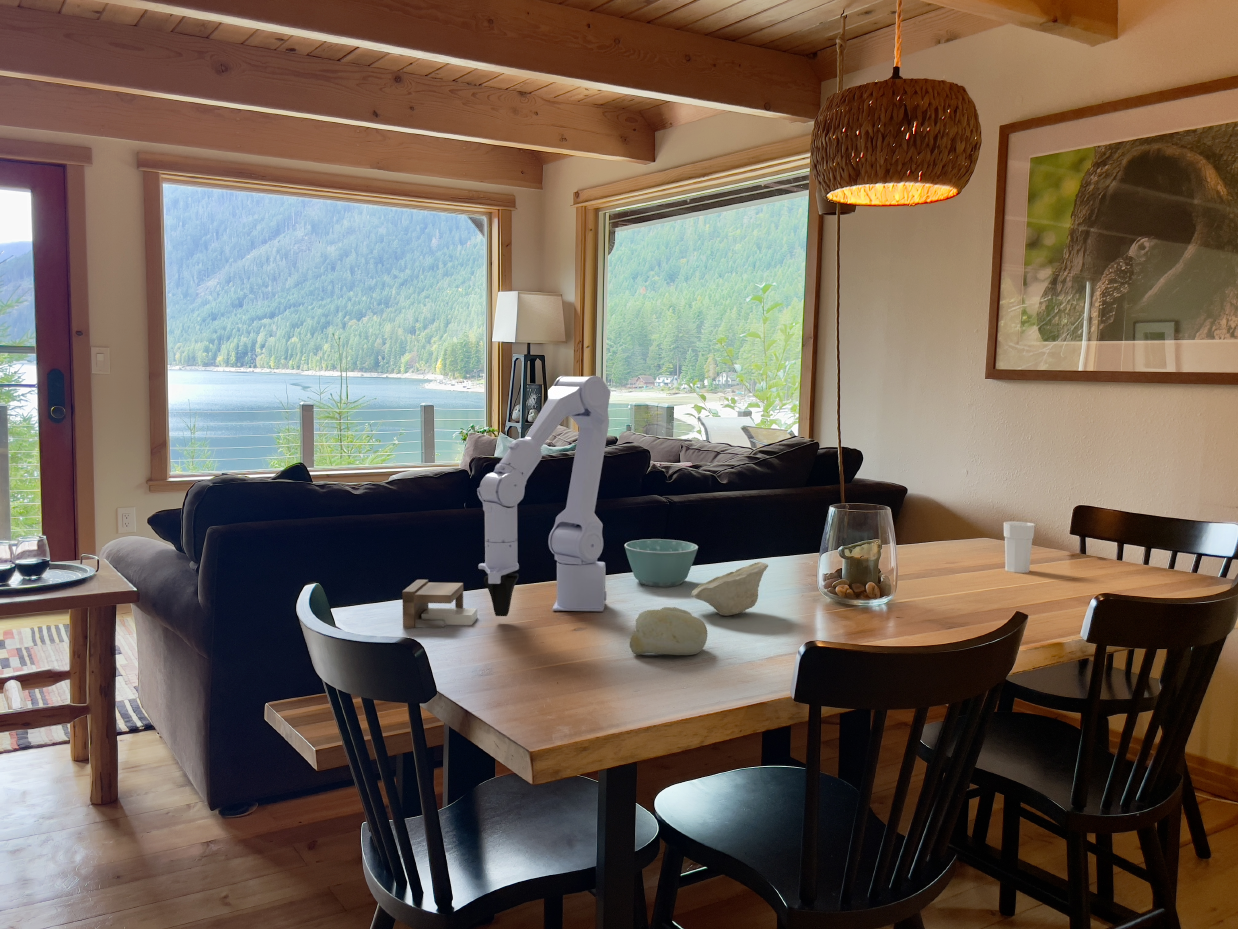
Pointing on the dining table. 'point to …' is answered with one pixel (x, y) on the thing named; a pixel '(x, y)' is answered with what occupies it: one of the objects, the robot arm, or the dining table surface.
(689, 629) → the smooth beige rock
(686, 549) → the bowl
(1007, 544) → the cup
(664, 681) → the dining table surface
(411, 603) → the shelf
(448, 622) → the tile
